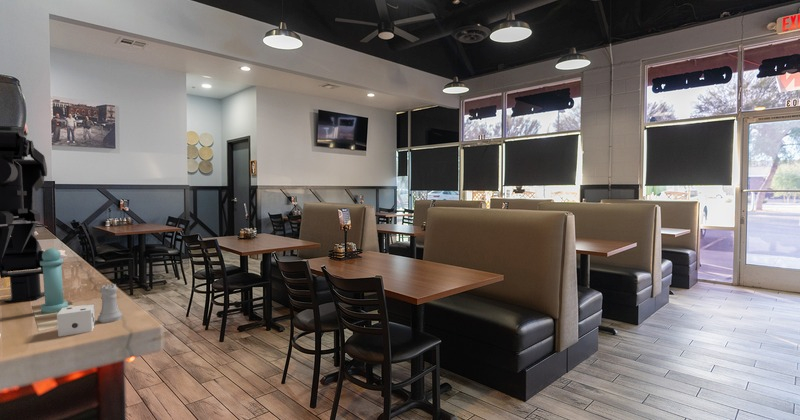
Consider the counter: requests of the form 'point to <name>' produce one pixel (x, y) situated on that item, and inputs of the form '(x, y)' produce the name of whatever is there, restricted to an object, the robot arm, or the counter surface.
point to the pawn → (52, 282)
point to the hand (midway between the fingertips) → (9, 255)
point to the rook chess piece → (109, 304)
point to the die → (76, 320)
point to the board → (46, 317)
